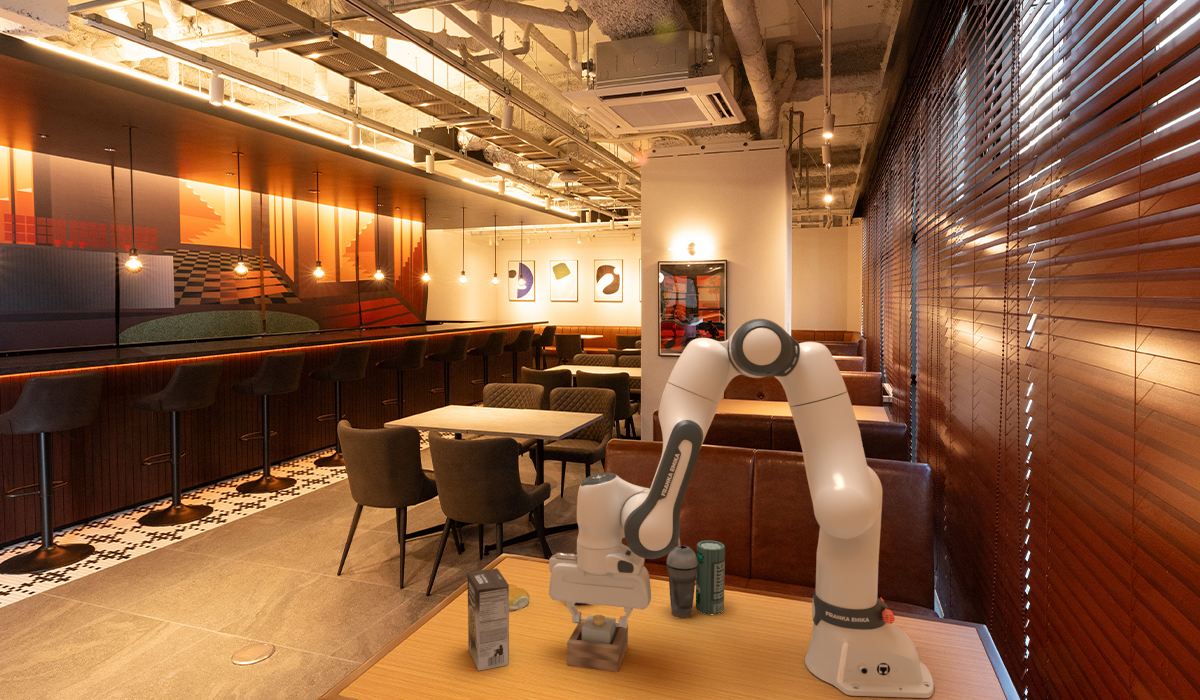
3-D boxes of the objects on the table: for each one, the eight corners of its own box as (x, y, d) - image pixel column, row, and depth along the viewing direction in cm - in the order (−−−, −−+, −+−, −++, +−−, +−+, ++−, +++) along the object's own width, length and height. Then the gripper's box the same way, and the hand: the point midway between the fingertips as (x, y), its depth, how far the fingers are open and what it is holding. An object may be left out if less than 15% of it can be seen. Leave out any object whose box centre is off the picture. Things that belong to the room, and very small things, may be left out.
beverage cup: (696, 622, 144) (698, 533, 143) (663, 619, 146) (664, 531, 145) (698, 608, 151) (699, 523, 150) (667, 605, 153) (668, 520, 152)
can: (706, 600, 155) (707, 538, 154) (728, 608, 151) (729, 545, 150) (691, 608, 151) (692, 545, 150) (713, 617, 147) (714, 552, 146)
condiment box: (627, 645, 134) (628, 624, 134) (617, 672, 125) (617, 649, 124) (580, 639, 137) (580, 618, 136) (567, 665, 127) (567, 642, 127)
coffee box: (467, 649, 133) (466, 571, 132) (498, 643, 135) (497, 566, 134) (477, 672, 124) (476, 589, 123) (510, 665, 127) (509, 583, 126)
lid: (615, 640, 133) (615, 612, 132) (609, 654, 127) (609, 625, 127) (588, 636, 134) (588, 609, 134) (581, 650, 128) (581, 622, 128)
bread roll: (511, 592, 160) (511, 576, 160) (535, 604, 154) (535, 587, 153) (483, 603, 154) (483, 586, 154) (506, 615, 148) (506, 598, 148)
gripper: (544, 557, 129) (544, 626, 129) (647, 566, 124) (647, 637, 125) (553, 546, 135) (554, 612, 135) (652, 554, 130) (652, 622, 131)
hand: (599, 624), depth 130 cm, fingers open, 8 cm apart
